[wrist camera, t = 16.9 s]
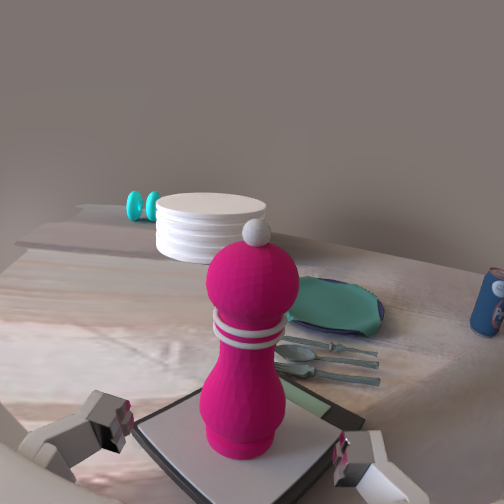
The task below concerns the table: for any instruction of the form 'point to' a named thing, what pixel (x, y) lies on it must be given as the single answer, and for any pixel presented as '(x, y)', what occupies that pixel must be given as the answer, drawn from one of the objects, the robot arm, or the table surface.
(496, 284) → the soda can
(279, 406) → the pepper mill
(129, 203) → the donuts
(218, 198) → the plate stack
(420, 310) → the table surface
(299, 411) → the kitchen scale
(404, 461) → the table surface
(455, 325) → the table surface
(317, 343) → the cutlery set
